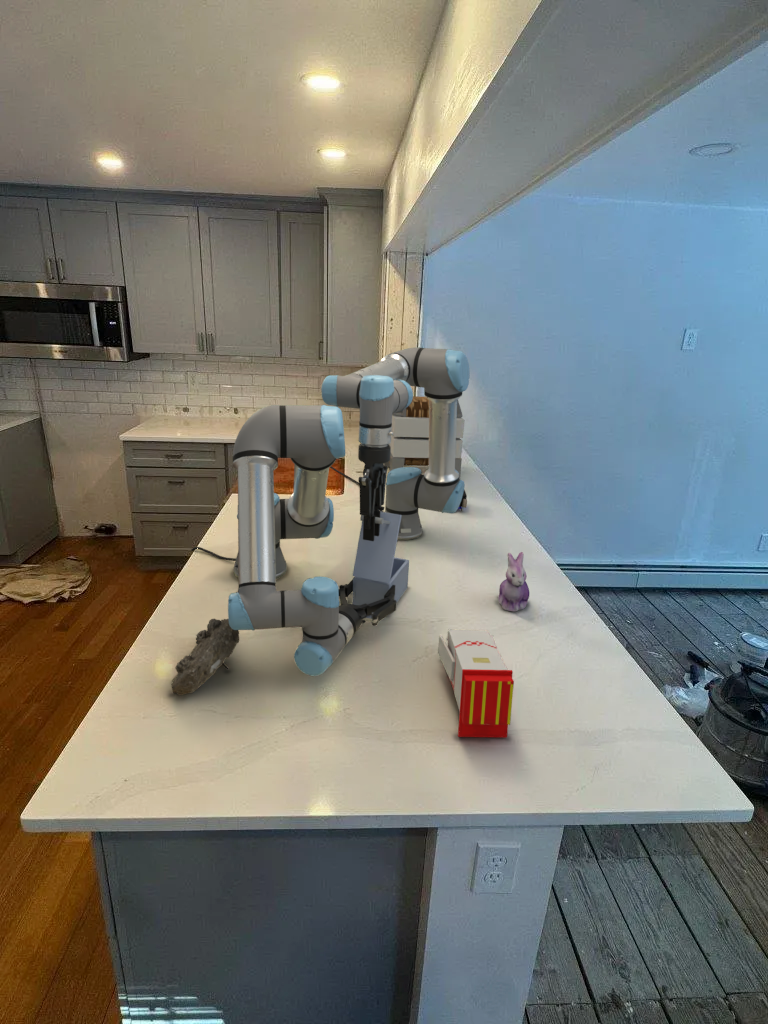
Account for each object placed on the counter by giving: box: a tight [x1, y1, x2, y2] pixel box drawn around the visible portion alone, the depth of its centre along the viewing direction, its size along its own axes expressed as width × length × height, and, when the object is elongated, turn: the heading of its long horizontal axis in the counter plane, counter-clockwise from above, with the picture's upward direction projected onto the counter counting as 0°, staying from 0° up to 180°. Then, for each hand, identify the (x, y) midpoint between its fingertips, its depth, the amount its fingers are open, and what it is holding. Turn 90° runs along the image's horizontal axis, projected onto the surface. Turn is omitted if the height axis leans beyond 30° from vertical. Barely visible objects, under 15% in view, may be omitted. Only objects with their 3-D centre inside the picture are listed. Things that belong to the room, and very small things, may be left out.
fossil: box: [171, 618, 240, 696], centre depth 121 cm, size 22×10×15 cm
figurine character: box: [457, 489, 468, 512], centre depth 228 cm, size 7×8×15 cm
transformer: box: [384, 395, 465, 480], centre depth 268 cm, size 34×33×41 cm
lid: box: [352, 511, 402, 583], centre depth 141 cm, size 18×10×9 cm
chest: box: [351, 556, 410, 605], centre depth 154 cm, size 17×10×9 cm, turn 160°
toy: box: [437, 628, 515, 738], centre depth 117 cm, size 12×13×30 cm
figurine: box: [497, 551, 530, 612], centre depth 152 cm, size 9×10×15 cm
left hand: (374, 585), depth 148 cm, fingers closed on chest, 10 cm apart
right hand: (371, 537), depth 140 cm, fingers open, 3 cm apart
